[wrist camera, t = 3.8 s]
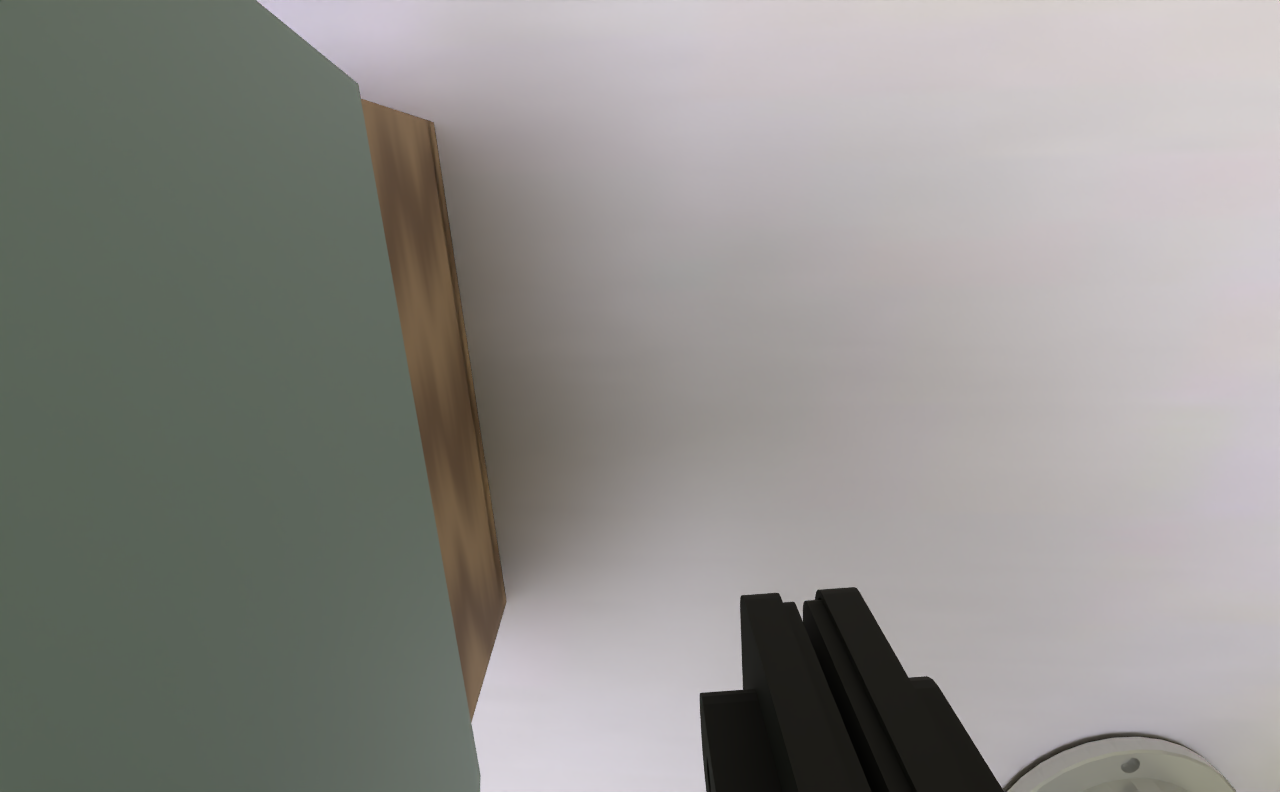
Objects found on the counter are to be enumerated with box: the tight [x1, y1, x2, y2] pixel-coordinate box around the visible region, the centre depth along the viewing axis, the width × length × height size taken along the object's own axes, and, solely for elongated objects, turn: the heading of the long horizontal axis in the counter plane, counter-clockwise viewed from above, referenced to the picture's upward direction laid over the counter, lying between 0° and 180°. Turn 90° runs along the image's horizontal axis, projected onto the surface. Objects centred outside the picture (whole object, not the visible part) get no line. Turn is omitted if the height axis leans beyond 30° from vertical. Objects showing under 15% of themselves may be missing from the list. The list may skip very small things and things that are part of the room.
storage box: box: [361, 99, 506, 722], centre depth 25 cm, size 20×16×10 cm
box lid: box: [0, 0, 480, 792], centre depth 12 cm, size 20×16×1 cm
